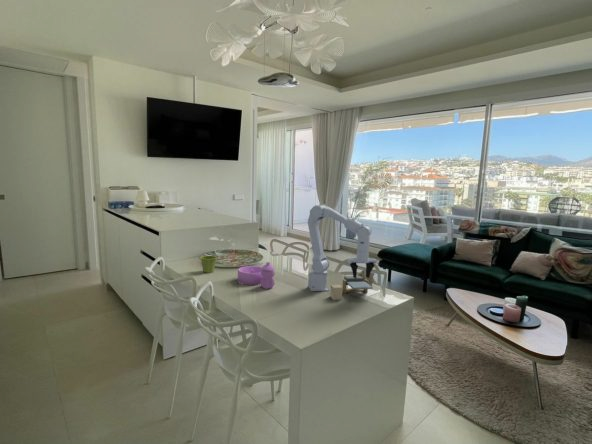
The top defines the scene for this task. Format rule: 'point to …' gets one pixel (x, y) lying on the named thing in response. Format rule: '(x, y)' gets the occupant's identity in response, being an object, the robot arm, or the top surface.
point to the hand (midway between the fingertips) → (361, 277)
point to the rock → (363, 275)
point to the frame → (353, 289)
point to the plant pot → (208, 263)
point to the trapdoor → (357, 285)
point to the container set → (257, 275)
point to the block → (336, 292)
